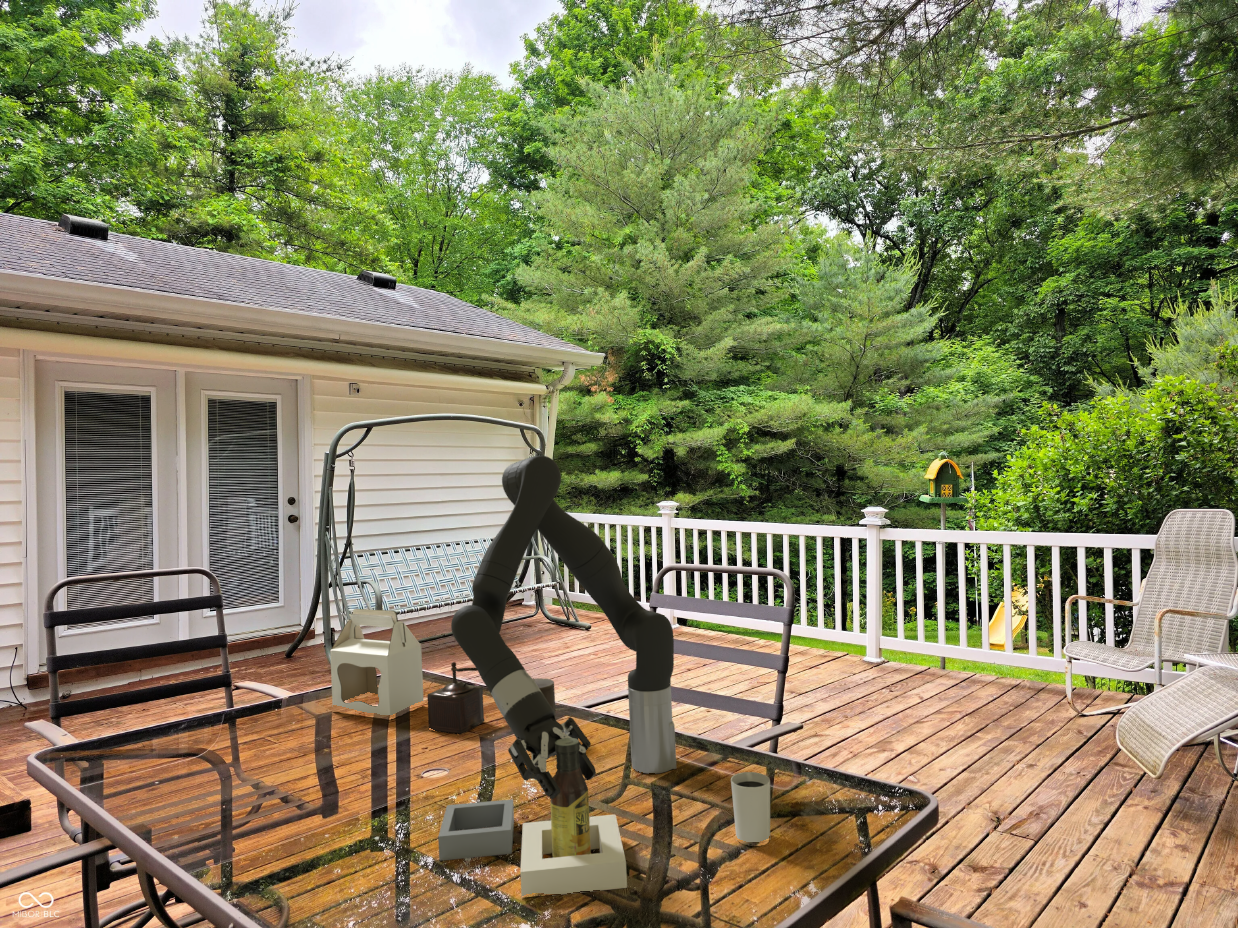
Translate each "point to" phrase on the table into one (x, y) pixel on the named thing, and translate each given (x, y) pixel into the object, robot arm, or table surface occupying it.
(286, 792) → the table surface
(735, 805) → the white coffee cup
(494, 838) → the frame
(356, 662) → the gable box
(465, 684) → the manual coffee grinder
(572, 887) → the socket collar
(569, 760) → the sauce bottle
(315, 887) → the table surface
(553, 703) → the pillar candle
